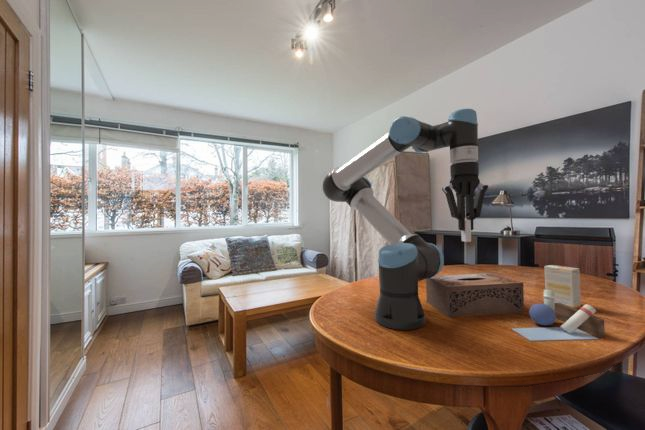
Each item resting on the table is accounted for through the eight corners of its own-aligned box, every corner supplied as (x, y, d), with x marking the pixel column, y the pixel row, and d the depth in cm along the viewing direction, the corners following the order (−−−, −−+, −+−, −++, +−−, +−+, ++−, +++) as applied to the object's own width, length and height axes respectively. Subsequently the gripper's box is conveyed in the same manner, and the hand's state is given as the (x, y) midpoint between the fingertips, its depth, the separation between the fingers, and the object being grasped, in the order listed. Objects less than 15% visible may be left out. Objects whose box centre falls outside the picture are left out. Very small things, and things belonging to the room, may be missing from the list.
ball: (566, 318, 74) (554, 315, 72) (548, 331, 77) (536, 328, 74) (547, 300, 79) (535, 297, 77) (531, 313, 82) (520, 310, 79)
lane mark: (530, 341, 68) (530, 340, 68) (511, 329, 75) (511, 328, 75) (598, 339, 68) (598, 338, 67) (572, 327, 74) (572, 326, 74)
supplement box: (582, 307, 89) (580, 268, 89) (573, 309, 87) (572, 269, 87) (553, 300, 97) (552, 264, 97) (544, 302, 95) (543, 265, 95)
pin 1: (548, 322, 77) (548, 291, 78) (541, 319, 80) (541, 289, 80) (557, 323, 77) (556, 291, 78) (550, 320, 80) (549, 289, 80)
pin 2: (566, 328, 70) (591, 305, 70) (558, 324, 72) (582, 302, 72) (572, 335, 70) (598, 313, 70) (564, 331, 72) (589, 309, 72)
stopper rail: (598, 337, 68) (598, 319, 68) (555, 317, 81) (554, 302, 81) (604, 337, 68) (604, 319, 68) (559, 317, 81) (559, 302, 81)
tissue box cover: (492, 299, 101) (491, 272, 101) (524, 313, 86) (523, 282, 86) (426, 303, 99) (425, 276, 99) (447, 318, 84) (447, 286, 84)
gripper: (448, 161, 76) (450, 243, 76) (493, 159, 76) (496, 242, 76) (437, 165, 84) (439, 240, 84) (478, 164, 84) (480, 239, 84)
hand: (466, 241), depth 80 cm, fingers closed
